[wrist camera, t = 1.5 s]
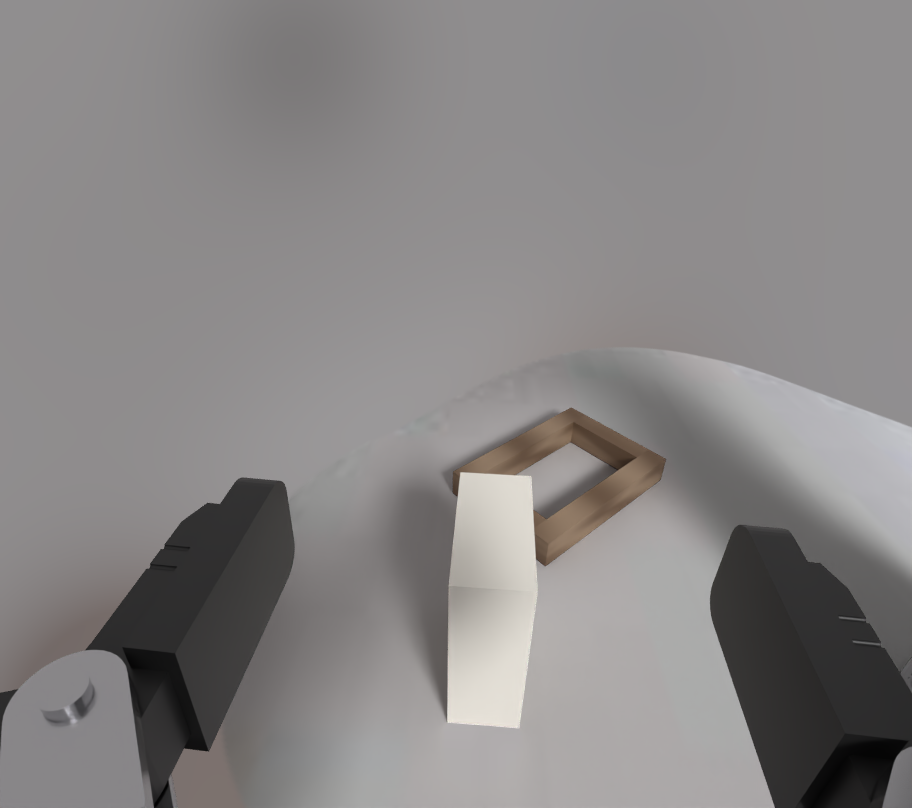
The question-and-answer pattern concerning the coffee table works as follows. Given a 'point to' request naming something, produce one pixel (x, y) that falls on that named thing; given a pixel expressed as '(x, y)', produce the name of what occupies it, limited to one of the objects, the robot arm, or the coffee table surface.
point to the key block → (491, 599)
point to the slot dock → (593, 506)
